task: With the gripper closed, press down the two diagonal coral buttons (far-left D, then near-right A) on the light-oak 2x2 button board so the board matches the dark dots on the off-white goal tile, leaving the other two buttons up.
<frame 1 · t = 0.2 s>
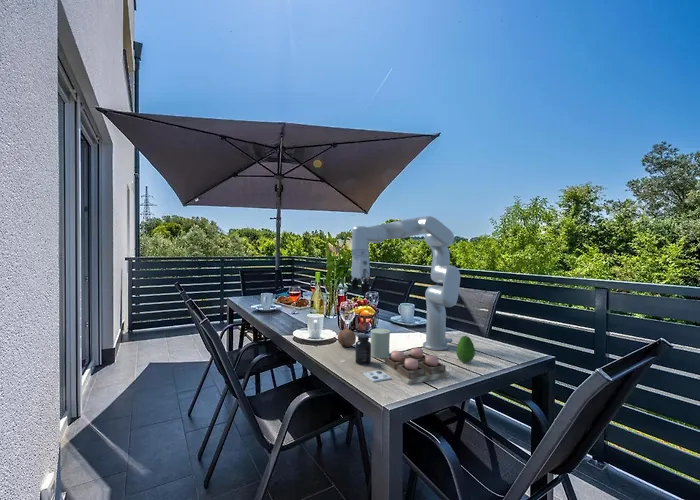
hand: (359, 291, 154), 31 cm above the table, fingers open, 9 cm apart
button C: (397, 355, 143), point 5 cm above the table, slide at 0.0 cm
button B: (431, 360, 138), point 5 cm above the table, slide at 0.0 cm
supplement bottle: (362, 363, 149), on the table
button D: (411, 363, 134), point 5 cm above the table, slide at 0.0 cm
goal tile: (377, 376, 134), on the table
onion: (346, 346, 172), on the table
can: (379, 355, 160), on the table
avocado: (465, 362, 152), on the table
button A: (416, 352, 147), point 5 cm above the table, slide at 0.0 cm
board: (413, 371, 140), on the table
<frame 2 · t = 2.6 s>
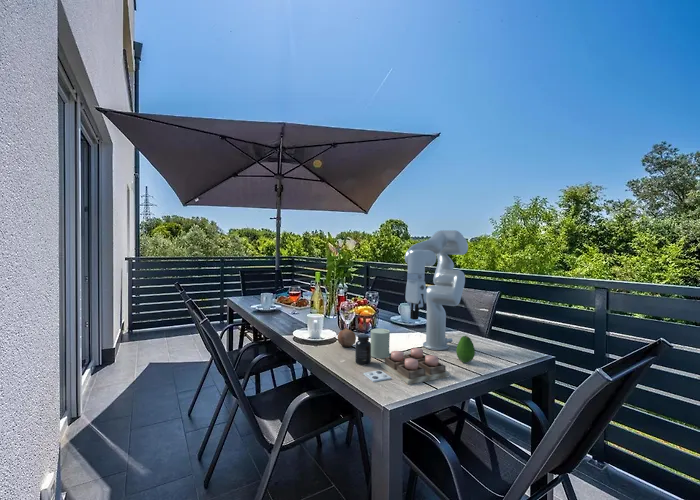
hand: (414, 318, 150), 19 cm above the table, fingers closed
nothing on the table moved.
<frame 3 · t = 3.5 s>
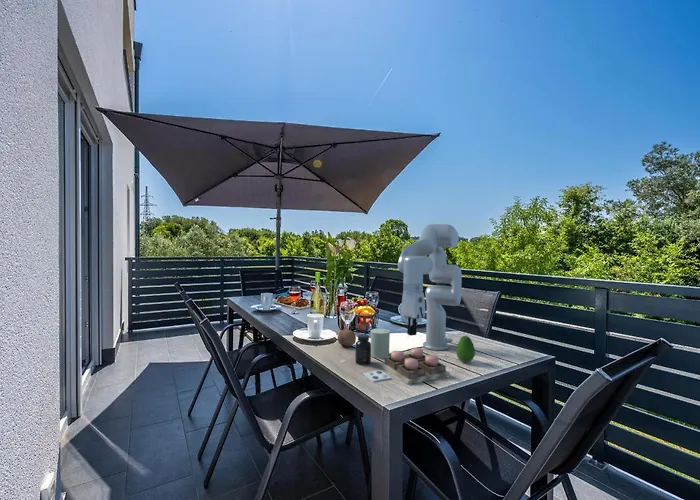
hand: (411, 334, 133), 17 cm above the table, fingers closed
nothing on the table moved.
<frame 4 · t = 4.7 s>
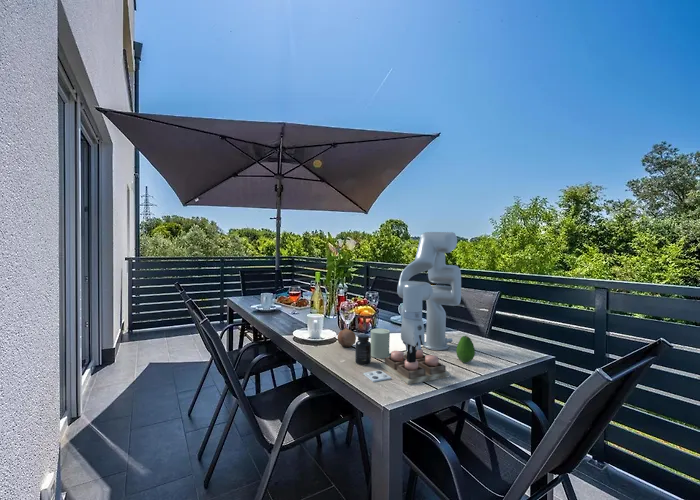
hand: (411, 361, 133), 6 cm above the table, fingers closed
button D: (411, 364, 134), point 5 cm above the table, slide at 0.4 cm, touching gripper
everything else where it was.
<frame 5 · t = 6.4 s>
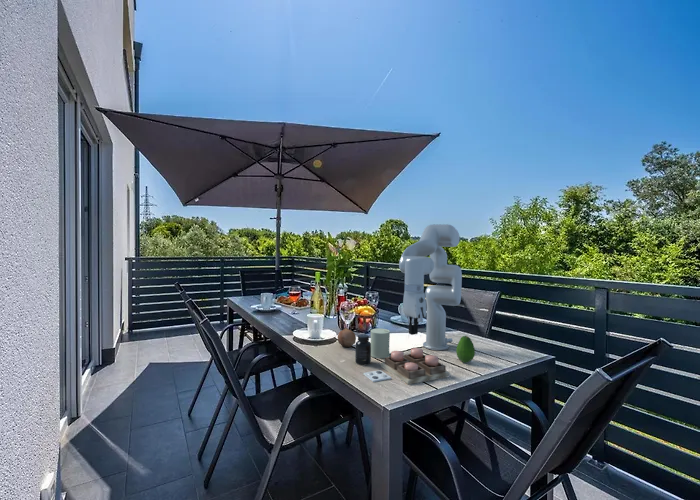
hand: (413, 333, 136), 17 cm above the table, fingers closed
button D: (411, 368, 134), point 4 cm above the table, slide at 1.7 cm
everything else where it was.
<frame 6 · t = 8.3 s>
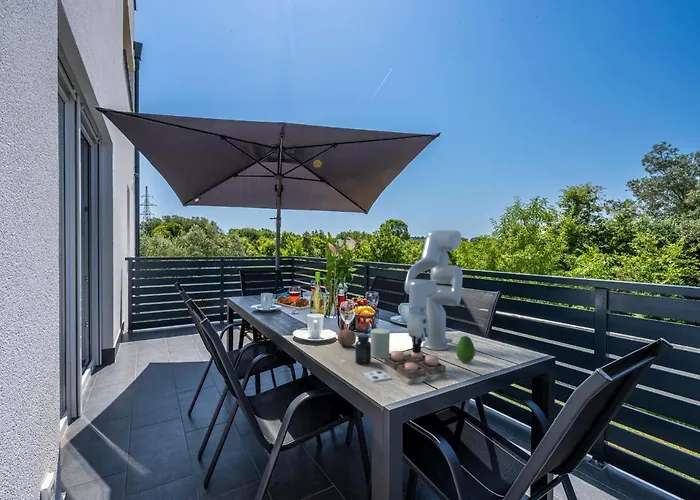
hand: (416, 352, 147), 6 cm above the table, fingers closed
button A: (416, 355, 147), point 5 cm above the table, slide at 0.9 cm, touching gripper
everything else where it was.
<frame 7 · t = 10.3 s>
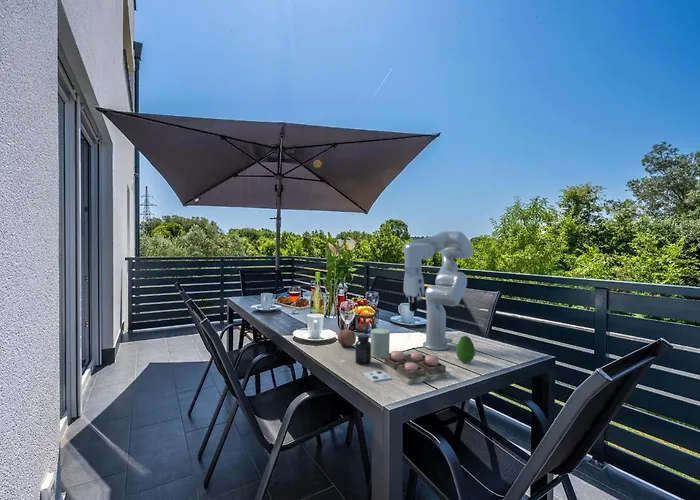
hand: (413, 310, 156), 22 cm above the table, fingers closed
button A: (416, 356, 147), point 4 cm above the table, slide at 1.7 cm
everything else where it was.
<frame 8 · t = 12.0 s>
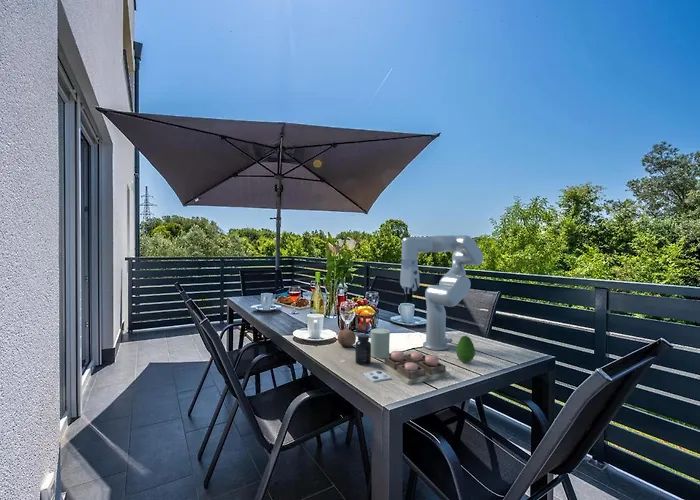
hand: (408, 301, 161), 25 cm above the table, fingers closed
nothing on the table moved.
at the end: button D slide at 1.7 cm; button A slide at 1.7 cm; button B slide at 0.0 cm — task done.
